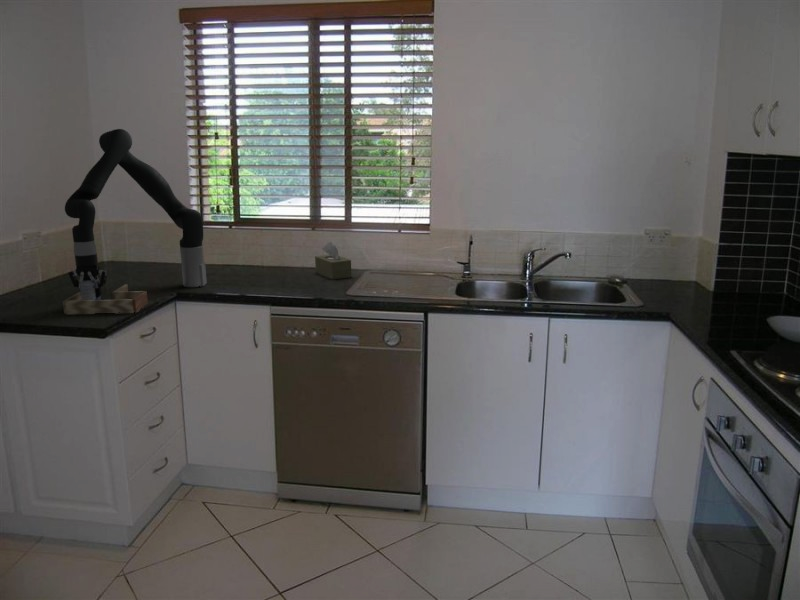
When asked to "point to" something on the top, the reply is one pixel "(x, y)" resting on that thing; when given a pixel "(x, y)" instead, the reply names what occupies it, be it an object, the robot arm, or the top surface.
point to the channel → (107, 303)
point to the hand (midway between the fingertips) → (91, 297)
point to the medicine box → (88, 290)
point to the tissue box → (332, 264)
